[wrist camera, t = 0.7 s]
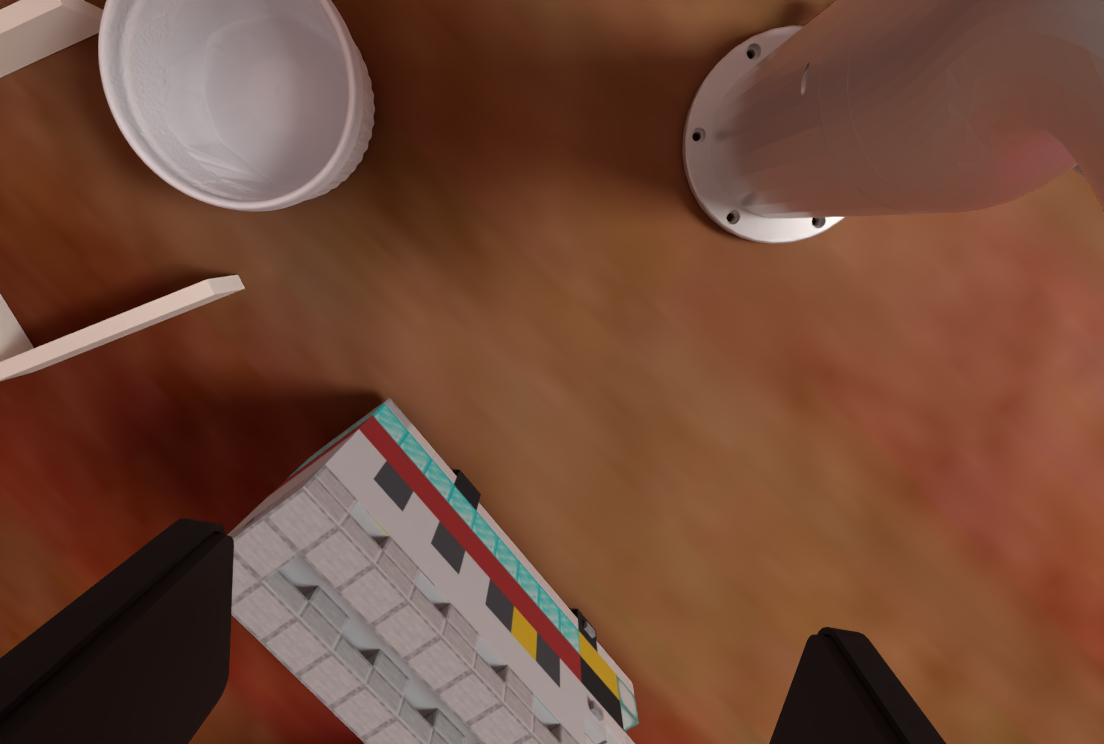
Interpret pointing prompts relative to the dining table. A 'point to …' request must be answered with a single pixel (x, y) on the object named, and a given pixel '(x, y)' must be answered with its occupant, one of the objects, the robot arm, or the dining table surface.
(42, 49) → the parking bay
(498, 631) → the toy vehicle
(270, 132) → the ramekin
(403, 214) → the dining table surface
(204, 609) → the robot arm
